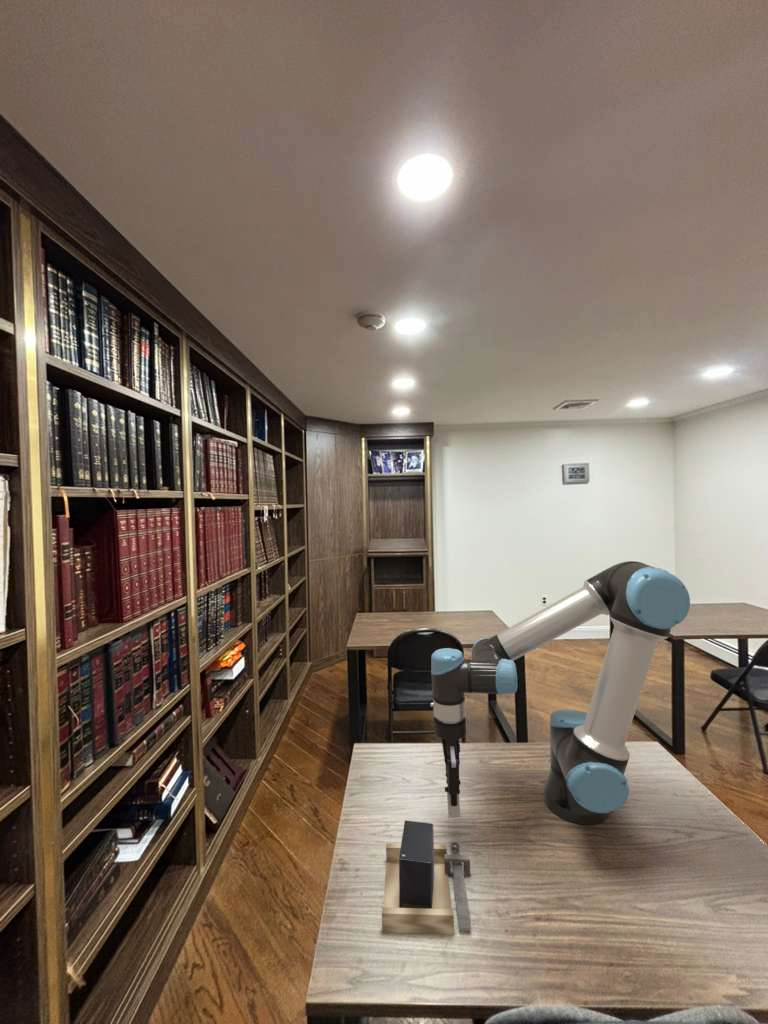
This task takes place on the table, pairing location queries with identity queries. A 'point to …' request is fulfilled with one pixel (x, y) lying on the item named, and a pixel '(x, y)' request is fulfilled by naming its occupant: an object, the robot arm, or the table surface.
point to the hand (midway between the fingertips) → (454, 815)
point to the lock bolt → (460, 891)
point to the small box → (416, 865)
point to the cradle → (441, 912)
